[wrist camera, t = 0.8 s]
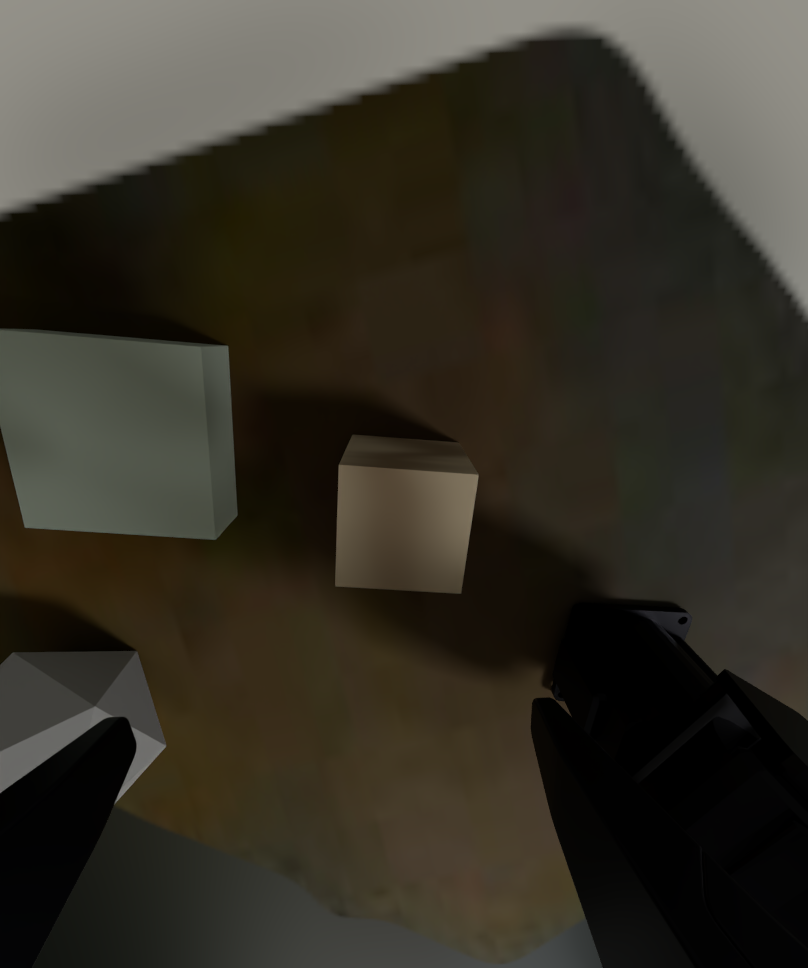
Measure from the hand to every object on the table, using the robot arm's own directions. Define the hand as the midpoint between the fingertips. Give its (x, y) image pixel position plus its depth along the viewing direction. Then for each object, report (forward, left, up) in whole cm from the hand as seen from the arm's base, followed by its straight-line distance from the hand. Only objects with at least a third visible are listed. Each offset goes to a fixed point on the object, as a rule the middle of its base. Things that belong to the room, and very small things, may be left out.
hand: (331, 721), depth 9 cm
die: (+14, +12, -12) cm, 22 cm away
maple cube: (-2, -1, -12) cm, 12 cm away
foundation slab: (+10, -3, -12) cm, 16 cm away
